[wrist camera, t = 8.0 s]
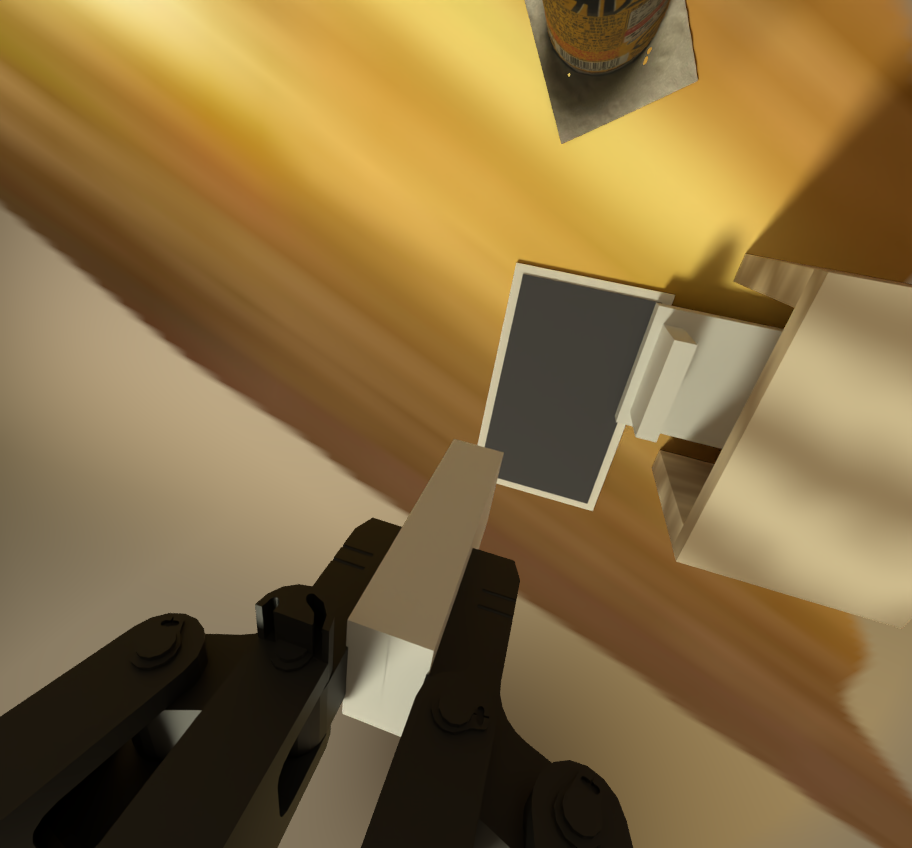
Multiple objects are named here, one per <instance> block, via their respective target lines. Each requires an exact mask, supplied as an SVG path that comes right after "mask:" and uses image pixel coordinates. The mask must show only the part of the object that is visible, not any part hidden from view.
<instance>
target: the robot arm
mask: <svg viewBox="0 0 912 848" xmlns="http://www.w3.org/2000/svg"><path fill="white" fill-rule="evenodd" d="M503 454H504V452H500V451H496V450H493V449H489V448H485V447H482V446H478V445H474V444H471V443H467V442H464V441H460V440H456V439H454V440H453V442H452V444H451V445H450V447H449V449H448V450H447V452H446V454H445V455H444V457H443V459H442V460H441V462H440V464H439V466H438V467H437V469H436V471H435V472H434V474H433V476H432V477H431V479H430V481H429V483H428V484H427V486H426V488H425V489H424V491H423V493H422V494H421V496H420V498H419V499H418V501H417V503H416V505H415V506H414V508H413V510H412V511H411V513H410V515H409V516H408V518H407V520H406V521H405V523H404V525H403V527H401V526H397V525H394V524H391V523H388V522H385V521H381V520H378V519H375V518H371V519H370V520H368V521H367V522H365V523H363V524H362V525H360V526H358V527H357V528H355V529H354V531H353V532H352V533H351V535H350V536H349V538H348V539H347V540H346V542H345V543H344V545H343V547H341V548H340V550H339V551H338V552H337V554H336V555H335V557H334V559H333V561H331V562H330V563H329V565H328V566H327V568H326V569H325V570H324V571H323V573H322V574H321V576H320V577H319V578H318V580H317V581H316V583H315V584H314V585H313V586H306V585H300V584H298V585H291V586H284V587H281V588H279V589H277V590H274V591H272V592H271V593H268V594H267V595H265V596H264V597H263V598H262V599H261V600H260V601H258V602H257V603H256V604H255V608H256V619H257V630H258V633H256V634H246V635H228V634H226V635H225V634H205V633H204V628H203V627H202V625H201V624H200V623H199V621H198V620H197V619H196V618H193V617H191V616H189V615H187V614H178V613H168V614H164V615H160V616H156V617H152V618H150V619H148V620H146V621H144V622H142V623H140V624H138V625H136V626H134V627H133V628H131V629H130V630H128V631H127V632H125V633H124V634H122V635H121V636H119V637H118V638H116V639H115V640H113V641H112V642H110V643H109V644H107V645H106V646H104V647H103V648H101V649H100V650H98V651H97V652H96V653H94V654H93V655H91V656H90V657H88V658H87V659H85V660H84V661H82V662H81V663H79V664H78V665H76V666H75V667H74V668H72V669H70V670H69V671H67V672H66V673H64V674H63V675H61V676H60V677H58V678H57V679H55V680H54V681H53V682H51V683H50V684H48V685H47V686H45V687H44V688H42V689H41V690H39V691H38V692H36V693H35V694H33V695H32V696H30V697H29V698H27V699H26V700H24V701H23V702H21V703H20V704H18V705H17V706H16V707H14V708H13V709H11V710H9V711H8V712H7V713H5V714H4V715H2V716H1V717H0V848H277V847H278V845H279V843H280V841H281V839H282V837H283V835H284V833H285V831H286V829H287V827H288V825H289V823H290V821H291V819H292V816H293V814H294V812H295V810H296V808H297V806H298V804H299V802H300V800H301V798H302V796H303V794H304V792H305V790H306V788H307V786H308V784H309V782H310V779H311V778H312V775H313V773H314V771H315V769H316V767H317V765H318V763H319V761H320V759H321V757H322V755H323V753H324V751H325V749H326V746H327V743H328V739H329V736H330V730H331V723H332V721H333V719H334V717H335V715H336V713H337V711H338V709H339V707H340V705H341V703H342V701H343V709H342V713H343V714H345V715H347V716H350V717H352V718H355V719H358V720H360V721H362V722H365V723H367V724H370V725H372V726H375V727H377V728H380V729H383V730H385V731H387V732H390V733H393V734H395V735H398V736H400V737H401V738H400V741H399V744H398V746H397V749H396V752H395V755H394V758H393V760H392V763H391V766H390V769H389V771H388V774H387V777H386V780H385V782H384V785H383V788H382V791H381V793H380V796H379V799H378V802H377V805H376V807H375V810H374V813H373V816H372V819H371V821H370V824H369V827H368V829H367V832H366V835H365V838H364V841H363V844H362V846H361V848H633V845H632V841H631V837H630V833H629V829H628V825H627V821H626V818H625V816H624V813H623V811H622V808H621V806H620V803H619V800H618V798H617V797H616V795H615V794H614V793H613V791H612V790H611V788H610V787H609V786H608V784H607V783H606V782H605V780H604V779H603V778H602V777H600V776H599V775H598V774H597V773H595V772H594V771H593V770H592V769H590V768H589V767H588V766H586V765H582V764H580V763H577V762H574V761H571V760H567V761H559V762H553V763H551V762H550V761H549V760H548V759H546V758H545V757H544V756H543V755H541V754H540V753H539V752H538V751H536V750H535V749H534V748H533V747H531V746H530V745H529V744H528V743H526V742H525V741H524V740H523V739H522V738H521V737H520V736H519V735H518V734H517V733H516V732H515V730H514V729H513V727H512V726H511V724H510V723H509V721H508V720H507V717H506V715H505V712H504V710H503V707H502V702H501V697H500V687H501V686H500V685H501V679H502V673H503V668H504V663H505V657H506V652H507V647H508V641H509V636H510V631H511V625H512V619H513V615H514V609H515V604H516V599H517V594H518V588H519V583H520V579H519V575H518V572H517V568H516V565H515V562H514V561H513V560H510V559H507V558H503V557H500V556H497V555H494V554H491V553H488V552H484V551H481V550H478V549H479V546H480V543H481V540H482V537H483V533H484V530H485V527H486V524H487V520H488V516H489V512H490V508H491V503H492V499H493V495H494V491H495V487H496V483H497V479H498V475H499V470H500V466H501V462H502V458H503Z"/></svg>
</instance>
